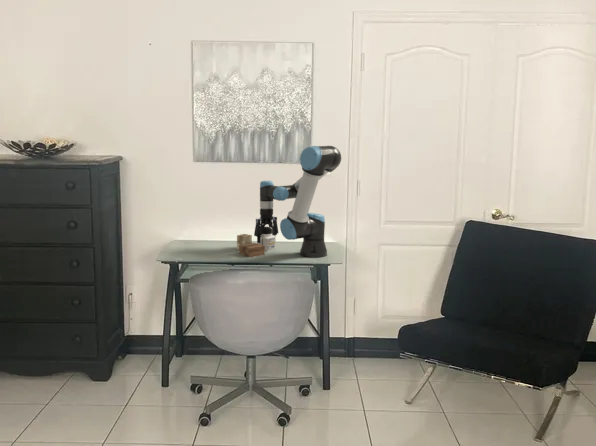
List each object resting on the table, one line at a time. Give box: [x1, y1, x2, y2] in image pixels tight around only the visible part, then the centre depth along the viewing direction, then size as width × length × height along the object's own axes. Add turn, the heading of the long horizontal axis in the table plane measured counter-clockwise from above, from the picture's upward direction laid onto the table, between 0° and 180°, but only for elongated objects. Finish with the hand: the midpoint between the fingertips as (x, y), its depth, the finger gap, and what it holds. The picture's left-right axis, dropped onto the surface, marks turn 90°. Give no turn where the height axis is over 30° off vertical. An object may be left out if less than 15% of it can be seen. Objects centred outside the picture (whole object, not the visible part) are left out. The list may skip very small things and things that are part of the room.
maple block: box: [236, 233, 253, 250], centre depth 366 cm, size 6×6×8 cm
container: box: [256, 226, 277, 252], centre depth 365 cm, size 8×8×13 cm
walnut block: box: [238, 242, 266, 258], centre depth 353 cm, size 10×10×5 cm
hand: (266, 247), depth 366 cm, fingers closed on container, 8 cm apart
